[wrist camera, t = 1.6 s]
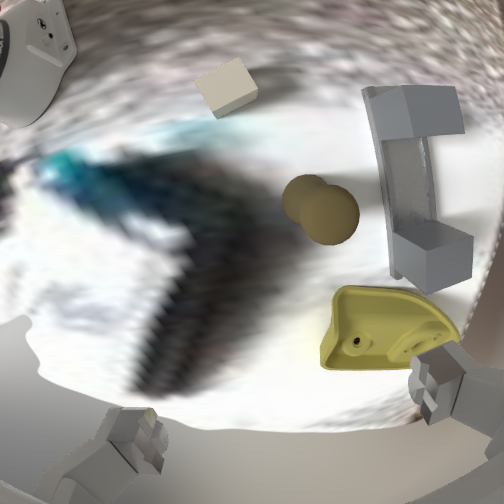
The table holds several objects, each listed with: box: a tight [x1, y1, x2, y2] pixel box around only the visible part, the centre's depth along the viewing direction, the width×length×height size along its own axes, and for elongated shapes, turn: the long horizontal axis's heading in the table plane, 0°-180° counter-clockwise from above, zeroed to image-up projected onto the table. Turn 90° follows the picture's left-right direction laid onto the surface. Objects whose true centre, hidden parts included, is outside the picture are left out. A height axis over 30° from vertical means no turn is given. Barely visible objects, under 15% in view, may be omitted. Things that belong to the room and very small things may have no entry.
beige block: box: [193, 57, 258, 119], centre depth 27 cm, size 4×5×5 cm
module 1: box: [369, 85, 465, 141], centre depth 25 cm, size 5×7×8 cm
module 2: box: [392, 221, 473, 295], centre depth 30 cm, size 5×7×8 cm
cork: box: [282, 174, 360, 245], centre depth 28 cm, size 6×6×11 cm
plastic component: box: [320, 286, 460, 371], centre depth 37 cm, size 20×7×10 cm
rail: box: [361, 86, 437, 280], centre depth 32 cm, size 24×7×2 cm, turn 13°
